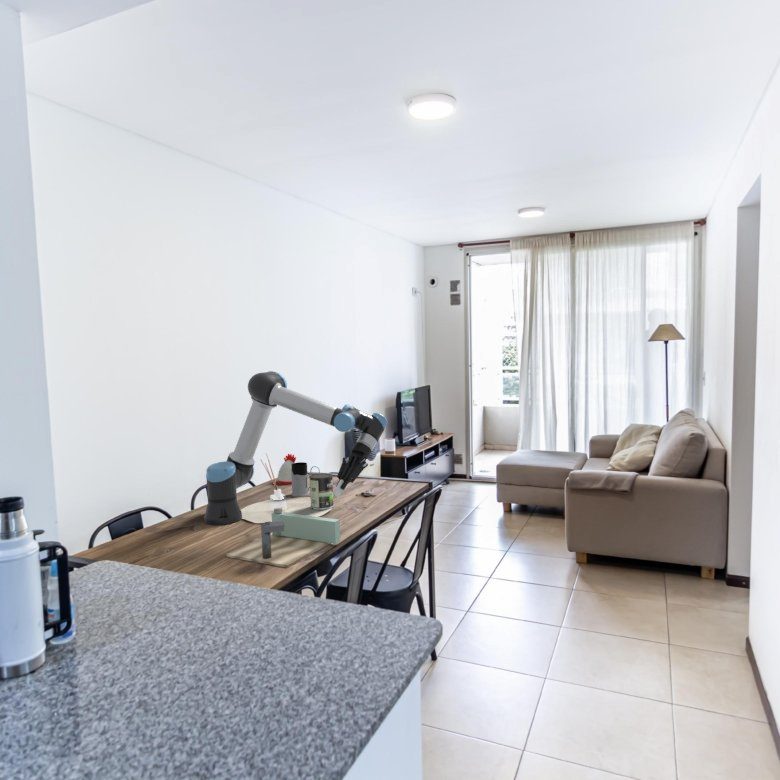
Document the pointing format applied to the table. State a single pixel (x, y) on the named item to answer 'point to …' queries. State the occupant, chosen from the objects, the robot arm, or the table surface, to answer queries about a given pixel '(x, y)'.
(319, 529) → the link
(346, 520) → the table surface
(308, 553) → the pintle board
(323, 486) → the coffee can
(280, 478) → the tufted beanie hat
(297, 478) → the grey and black mug
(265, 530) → the keeper
